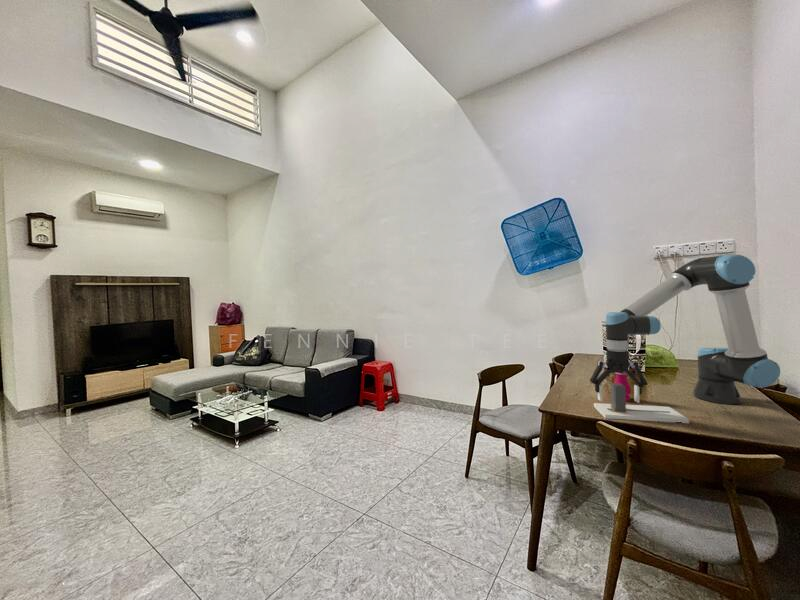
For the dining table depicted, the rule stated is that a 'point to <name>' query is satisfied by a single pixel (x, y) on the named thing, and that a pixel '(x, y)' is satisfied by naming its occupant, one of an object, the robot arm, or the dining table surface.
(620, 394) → the fader knob
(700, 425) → the dining table surface
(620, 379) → the pepper mill
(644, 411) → the plate
